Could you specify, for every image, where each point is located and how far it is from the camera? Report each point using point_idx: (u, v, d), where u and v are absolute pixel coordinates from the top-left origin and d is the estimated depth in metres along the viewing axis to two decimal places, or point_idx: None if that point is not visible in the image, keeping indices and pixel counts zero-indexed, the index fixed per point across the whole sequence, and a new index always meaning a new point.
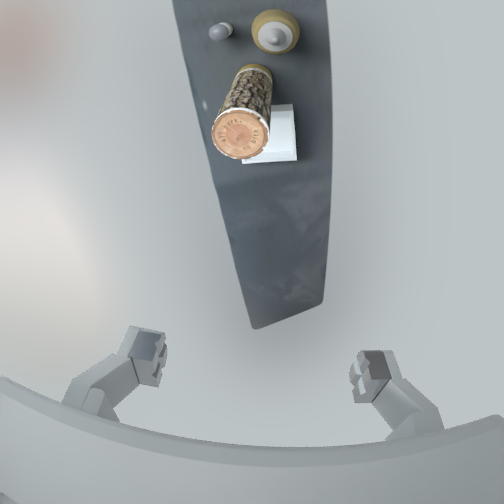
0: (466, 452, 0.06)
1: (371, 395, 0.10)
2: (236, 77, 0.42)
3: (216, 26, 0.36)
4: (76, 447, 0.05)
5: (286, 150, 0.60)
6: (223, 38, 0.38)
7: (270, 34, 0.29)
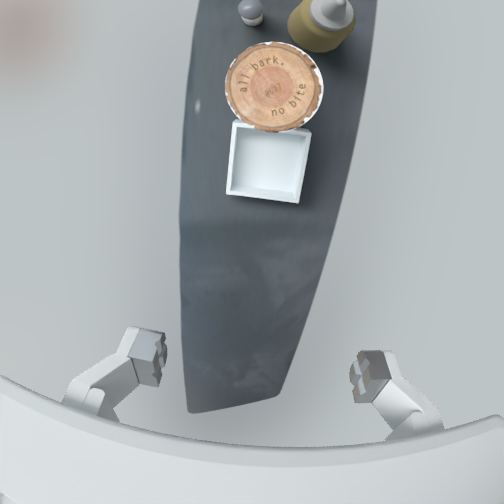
0: (466, 452, 0.06)
1: (371, 395, 0.10)
2: None
3: (251, 0, 0.27)
4: (76, 447, 0.05)
5: (285, 190, 0.47)
6: (254, 16, 0.28)
7: None
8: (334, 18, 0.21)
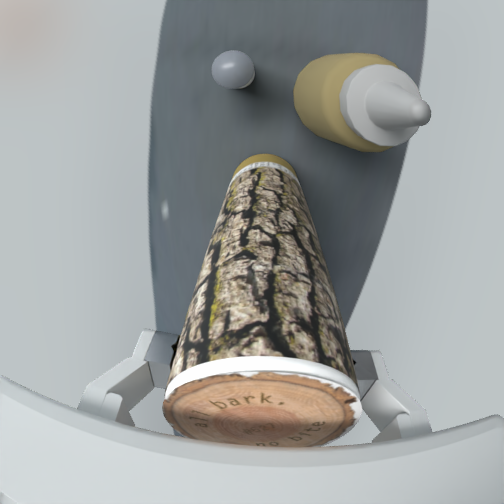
0: (466, 452, 0.06)
1: None
2: (241, 177, 0.23)
3: (233, 54, 0.19)
4: (76, 447, 0.05)
5: None
6: (238, 84, 0.20)
7: (396, 92, 0.10)
8: (391, 129, 0.13)
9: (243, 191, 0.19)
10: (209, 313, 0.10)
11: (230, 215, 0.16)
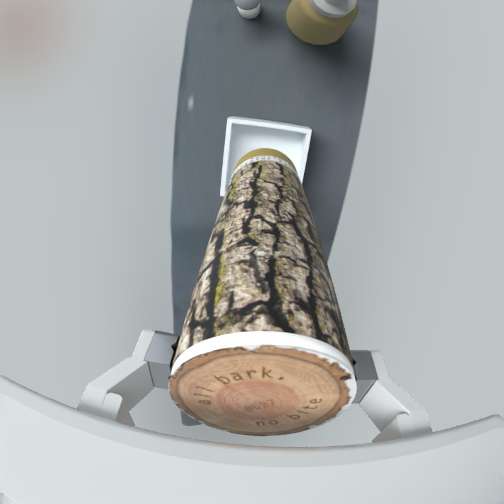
0: (466, 451, 0.06)
1: (358, 396, 0.10)
2: (243, 170, 0.23)
3: None
4: (76, 447, 0.05)
5: None
6: (250, 6, 0.26)
7: None
8: (336, 3, 0.19)
9: (245, 183, 0.20)
10: (214, 294, 0.10)
11: (232, 205, 0.17)
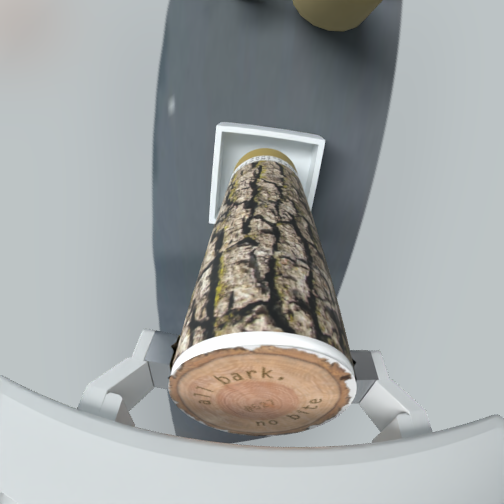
0: (466, 452, 0.06)
1: (358, 396, 0.10)
2: (243, 170, 0.23)
3: None
4: (76, 447, 0.05)
5: None
6: None
7: None
8: None
9: (245, 183, 0.20)
10: (214, 294, 0.10)
11: (232, 206, 0.17)
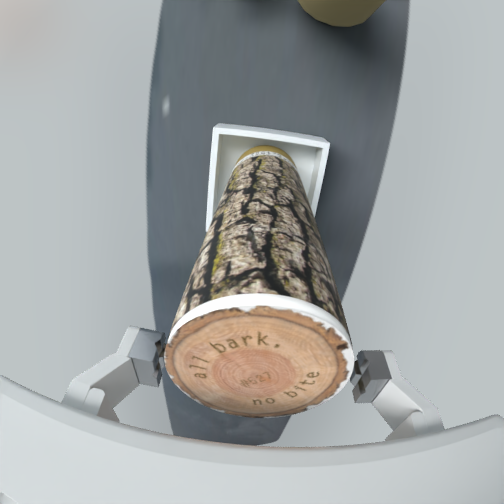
0: (466, 452, 0.06)
1: (371, 395, 0.10)
2: (243, 163, 0.24)
3: None
4: (76, 447, 0.05)
5: None
6: None
7: None
8: None
9: (244, 174, 0.20)
10: (212, 265, 0.11)
11: (232, 193, 0.18)
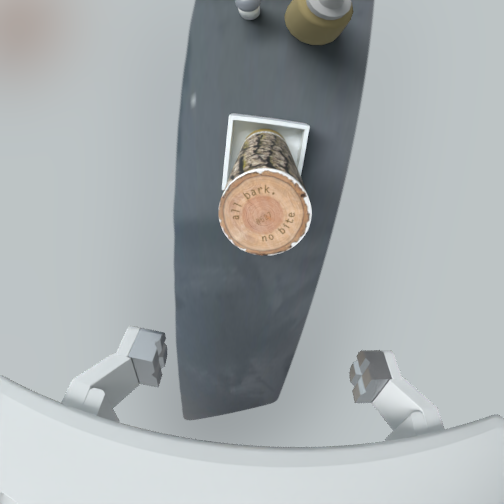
0: (466, 452, 0.06)
1: (371, 395, 0.10)
2: (250, 138, 0.35)
3: None
4: (76, 447, 0.05)
5: None
6: (251, 8, 0.28)
7: None
8: (332, 6, 0.20)
9: (252, 141, 0.32)
10: (242, 167, 0.22)
11: (246, 149, 0.29)
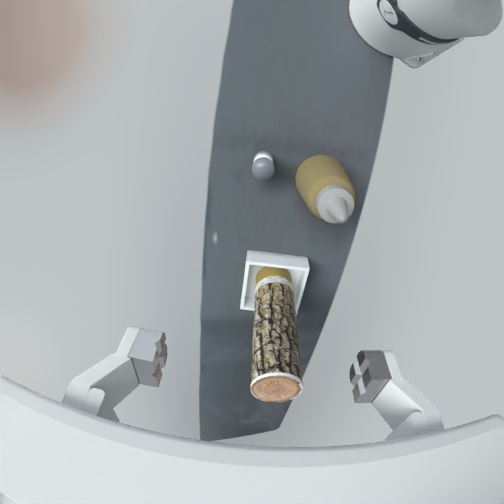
0: (466, 452, 0.06)
1: (371, 395, 0.10)
2: (264, 288, 0.49)
3: (263, 160, 0.40)
4: (76, 447, 0.05)
5: None
6: (266, 177, 0.41)
7: (337, 207, 0.32)
8: None
9: (266, 303, 0.45)
10: (263, 361, 0.36)
11: (263, 319, 0.43)
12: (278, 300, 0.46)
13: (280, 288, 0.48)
